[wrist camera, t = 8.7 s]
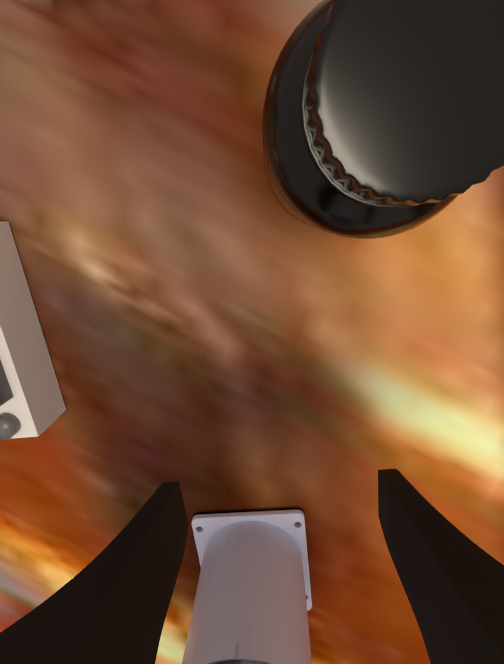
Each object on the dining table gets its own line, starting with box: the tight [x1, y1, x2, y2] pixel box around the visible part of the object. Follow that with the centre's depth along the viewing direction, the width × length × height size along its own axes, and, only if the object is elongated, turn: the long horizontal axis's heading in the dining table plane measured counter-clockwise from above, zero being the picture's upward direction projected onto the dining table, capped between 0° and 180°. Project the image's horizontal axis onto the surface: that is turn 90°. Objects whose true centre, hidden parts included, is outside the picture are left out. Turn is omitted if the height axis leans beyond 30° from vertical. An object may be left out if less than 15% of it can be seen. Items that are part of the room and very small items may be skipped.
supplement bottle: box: [263, 0, 504, 239], centre depth 13 cm, size 7×7×12 cm
